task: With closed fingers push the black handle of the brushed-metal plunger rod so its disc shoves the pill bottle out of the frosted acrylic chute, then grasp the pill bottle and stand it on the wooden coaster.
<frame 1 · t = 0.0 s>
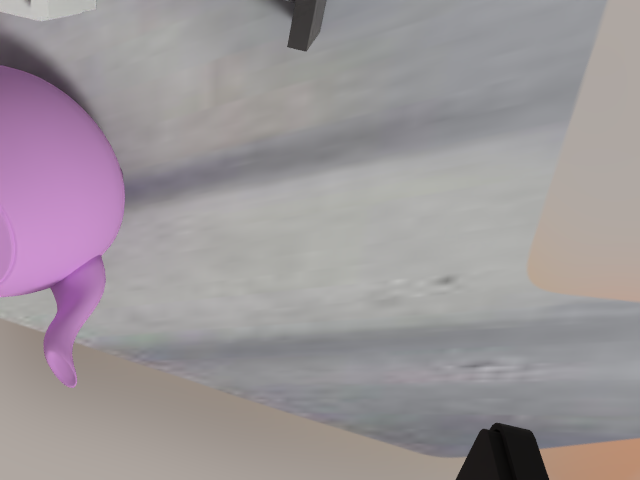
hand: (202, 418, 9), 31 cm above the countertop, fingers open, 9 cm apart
teapot: (54, 171, 42), on the countertop
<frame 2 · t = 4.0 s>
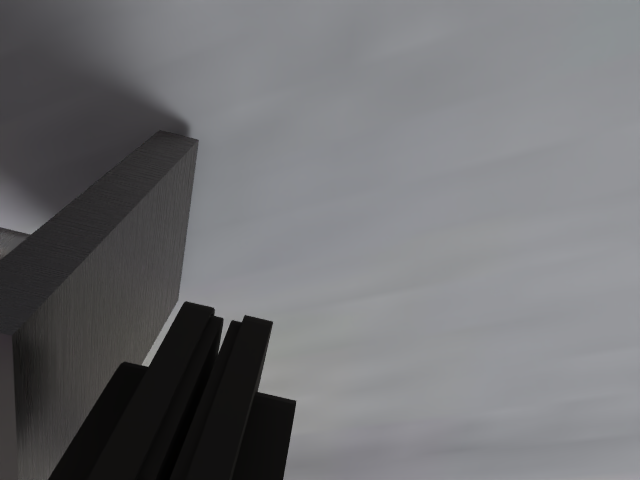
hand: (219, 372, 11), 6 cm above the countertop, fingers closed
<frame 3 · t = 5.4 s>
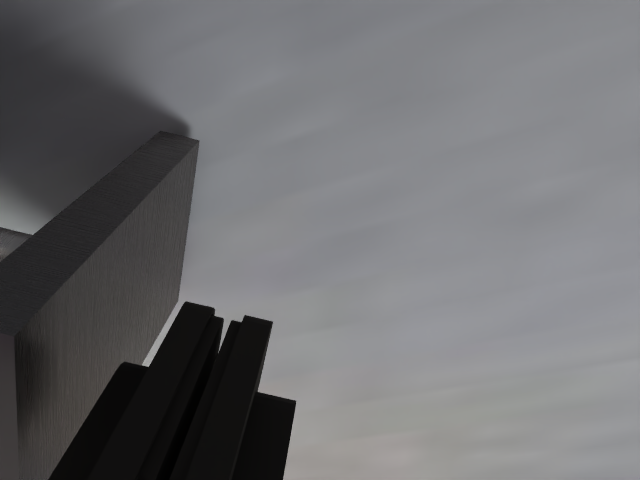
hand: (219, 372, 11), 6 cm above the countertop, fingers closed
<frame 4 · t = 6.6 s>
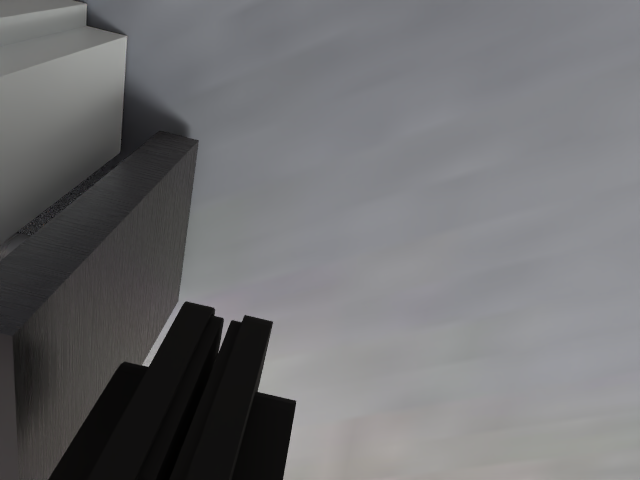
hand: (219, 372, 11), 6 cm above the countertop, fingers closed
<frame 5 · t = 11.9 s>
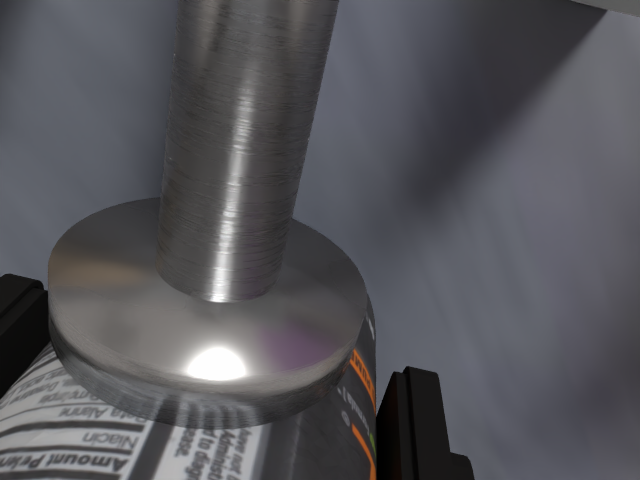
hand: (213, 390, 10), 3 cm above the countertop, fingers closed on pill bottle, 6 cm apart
pill bottle: (246, 312, 13), on the countertop, touching gripper
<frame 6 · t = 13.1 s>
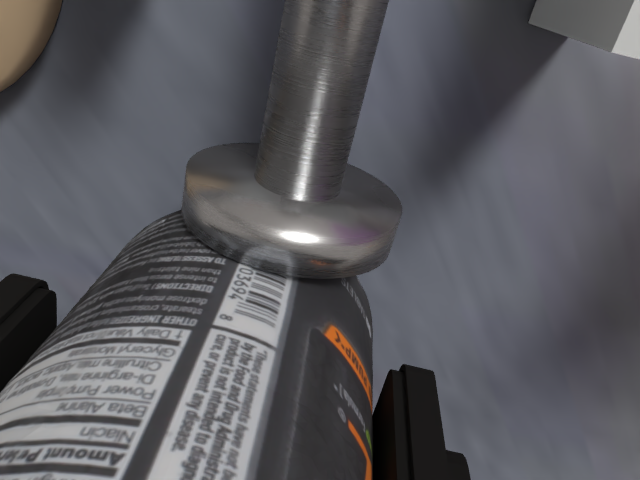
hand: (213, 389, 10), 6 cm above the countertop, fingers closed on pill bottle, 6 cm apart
pill bottle: (244, 309, 13), point 3 cm above the countertop, touching gripper
when the fingers open (5 cm above the countertop, at t = 17.5 s): pill bottle drops 1 cm, resting on wooden coaster.
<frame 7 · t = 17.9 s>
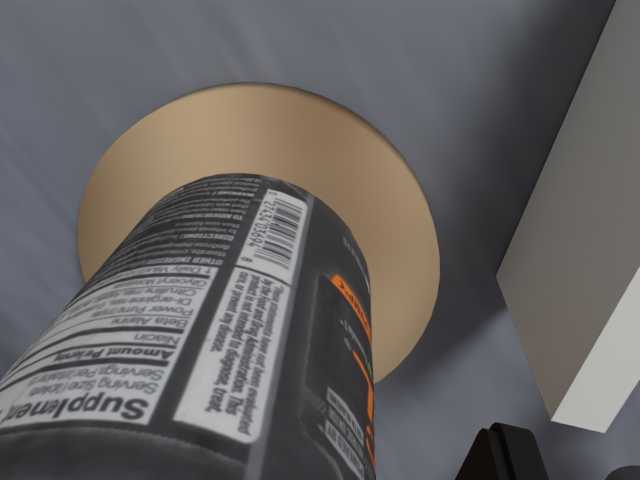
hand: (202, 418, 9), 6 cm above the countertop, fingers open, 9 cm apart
pill bottle: (252, 275, 14), point 1 cm above the countertop, touching wooden coaster
wooden coaster: (262, 255, 15), on the countertop
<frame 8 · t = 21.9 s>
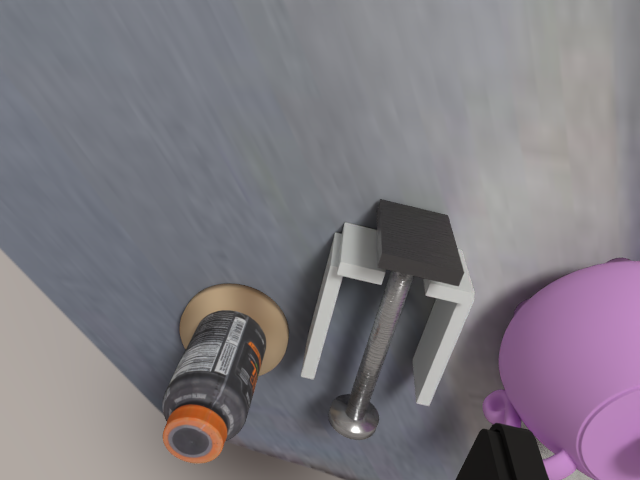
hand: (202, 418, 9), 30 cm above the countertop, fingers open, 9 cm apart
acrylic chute: (381, 301, 44), on the countertop
teapot: (603, 318, 43), on the countertop
pill bottle: (232, 336, 46), point 1 cm above the countertop, touching wooden coaster
plunger rod: (381, 337, 40), point 4 cm above the countertop, slide at 12.2 cm
wooden coaster: (235, 329, 46), on the countertop
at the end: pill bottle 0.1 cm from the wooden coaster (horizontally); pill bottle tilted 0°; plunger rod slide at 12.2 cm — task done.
